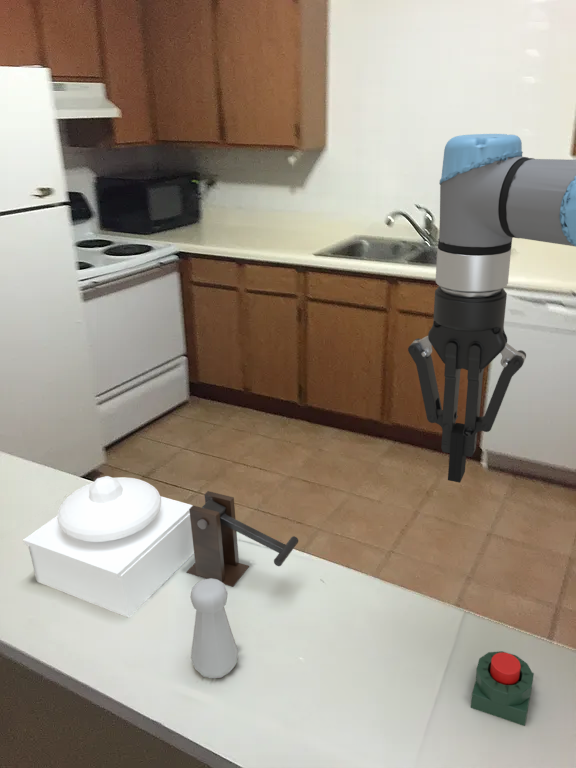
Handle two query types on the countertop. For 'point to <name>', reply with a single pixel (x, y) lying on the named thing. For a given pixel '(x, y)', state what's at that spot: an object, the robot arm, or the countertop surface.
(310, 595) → the countertop surface
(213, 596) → the salt shaker
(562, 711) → the countertop surface
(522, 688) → the button box
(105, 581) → the white lidded container
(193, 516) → the bracket
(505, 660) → the button
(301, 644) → the countertop surface
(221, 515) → the lever
